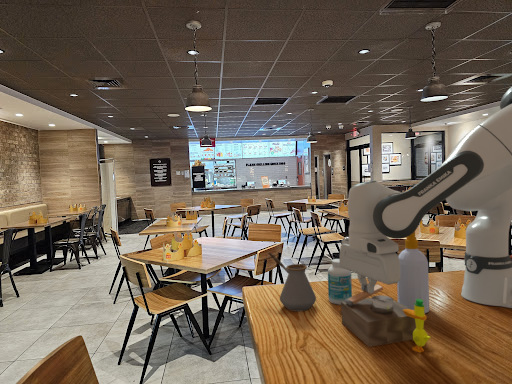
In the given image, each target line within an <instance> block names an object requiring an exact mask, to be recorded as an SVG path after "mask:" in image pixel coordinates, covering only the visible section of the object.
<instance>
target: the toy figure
mask: <svg viewBox="0 0 512 384" xmlns="http://www.w3.org/2000/svg"><path fill="white" fill-rule="evenodd" d="M414 305H415V306H414V310H411V309H404V310H403V312H404V313H405V315H406V316H409V317H411V318H414V319H415V323H416V329H415V330H414V331H413V339H412V341H414V343H415V346H412V347H411V349H412V351H414V352H416V353H419V354H420V353H423V352H424V351H425V349H424V348H423V347H424V346H425V345H426V344H427V342H428V341H429V340H430V339H431V336H429V335H428V333H427V331H426V330H425V329H424V325H425V321H427V318H428V317H427V316H426V313H424V304H423V300H421V299H416V303H414Z"/></svg>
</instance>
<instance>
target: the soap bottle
mask: <svg viewBox="0 0 512 384" xmlns="http://www.w3.org/2000/svg"><path fill="white" fill-rule="evenodd" d="M416 230H417V229H416ZM416 230H415V231H414V232H413V233H412V234H411V235H410V236H408V237H406V239H405V240H404V244H405V245H404V246H405V247H404V248H405V249H403V250H402V251H400V253H399V255H398V257H399V262H400V280H399V281H398V283H396V284H397V285H396V287H397V288H396V289H397V302H398V303H400V304H402V305H404V306H405V307H407V308H409V309H411V310H414V306H415V305H414V303H416V299H421V300H423V304H424V314H427V313H428V312H430V285H429V280H430V278H429V261H428V258H427V257H426V255H425V254H424V253H423V252H422V251H420V250H419V240H418V239H417V237H416Z"/></svg>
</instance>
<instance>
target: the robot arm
mask: <svg viewBox="0 0 512 384" xmlns="http://www.w3.org/2000/svg"><path fill="white" fill-rule="evenodd" d="M499 109H500V110H498V111H496V112H494V113H493V114H492V115H490V116H488V117H487V118H486V119H484V120H482V122H480V123H478V124H477V125H476V126H475V127H473V128H472V129H471V130H469V131H468V132H467V134H465V135H464V136H463V137H462V138H461V139H460V140H459V141H458V142H457V143H456V144H455V146H454V147H453V148H452V150H451V151H450V153H449V154H448V156H447V157H446V158H445V160H444V161H443V162H442V164H440V165H439V167H437V168H436V169H435V170H434V171H432V172H431V173H430V174H428V175H427V176H426V177H424V178H423V179H422V180H421V181H419V182H418V183H416V184H414V185H413V186H412V187H411V188H409V189H407V190H406V191H404V192H402V191H398V190H394V189H391V188H389V187H388V186H386V185H383V184H382V183H380V182H379V181H377V180H370V181H369V180H368V181H365V182H361V183H355V184H354V185H352V187H350V189H349V191H348V199H347V200H348V201H347V215H348V219H349V226H348V236H345V237H344V238H342V240H341V245H340V247H339V258H338V259H339V262H340V266H341V268H344V269H346V270H349V271H351V273H355V274H356V275H357V279H358V281H359V284H360V290H361V291H362V292H363V291H365V292H368V293H370V294H371V293H374V286H375V285H377V283H378V282H379V283H382V284H384V285H388V286H389V285H394V284H397V283H398V281H399V280H400V262H399V257H398V256H399V255H398V254H397V253H398V252H399V250H400V249H399V243H397V242H395V241H394V240H395V239H397V240H400V239H401V240H402V239H405V238H407V237H408V236H410V235H411V234H412V233H413V232H414V231H415V230H417V229H418V227H419V226H420V224H421V222H422V220H423V219H424V217H425V216H426V214H428V212H430V211H431V210H432V209H434V208H436V207H437V206H438V205H439V204H441V203H443V201H446V203H447V204H448V206H450V208H452V209H455V210H458V211H465V212H476V211H477V213H476V216H475V218H474V220H473V221H472V222H471V223H469V224H468V225H467V227H466V228H465V229H466V230H465V252H464V265H465V268H464V275H463V283H462V284H463V285H462V286H461V294H460V295H461V297H462V298H464V299H465V300H468V301H470V302H473V303H476V304H480V305H486V306H495V307H503V308H508V309H512V254H511V255H510V254H509V239H510V238H509V237H510V235H509V232H510V226H511V223H512V86H511V87H510V88H509V89H508V90H507V91H506V92H505V93H504V94H503V95H502V97H501V99H500V103H499ZM415 232H416V231H415ZM392 239H394V240H392ZM396 252H397V253H396Z"/></svg>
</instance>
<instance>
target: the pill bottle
mask: <svg viewBox="0 0 512 384" xmlns="http://www.w3.org/2000/svg"><path fill="white" fill-rule="evenodd" d="M339 259H340V258H334V259H331V266H330V267H329V268H328V269H327V285H328V286H327V289H328V290H327V292H328V301H329V302H330V303H332V304H335V305H340V306H341V302H344V301H345V299H346V298H347V299H348V298H350V297H352V296H353V294H352V293H353V290H352V289H353V287H352V286H353V285H352V271H349V270H346V269H344V268H341V266H340V262H339Z"/></svg>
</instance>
